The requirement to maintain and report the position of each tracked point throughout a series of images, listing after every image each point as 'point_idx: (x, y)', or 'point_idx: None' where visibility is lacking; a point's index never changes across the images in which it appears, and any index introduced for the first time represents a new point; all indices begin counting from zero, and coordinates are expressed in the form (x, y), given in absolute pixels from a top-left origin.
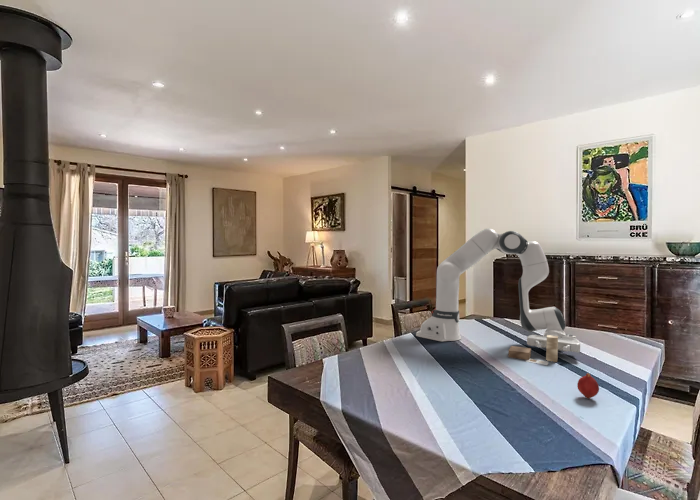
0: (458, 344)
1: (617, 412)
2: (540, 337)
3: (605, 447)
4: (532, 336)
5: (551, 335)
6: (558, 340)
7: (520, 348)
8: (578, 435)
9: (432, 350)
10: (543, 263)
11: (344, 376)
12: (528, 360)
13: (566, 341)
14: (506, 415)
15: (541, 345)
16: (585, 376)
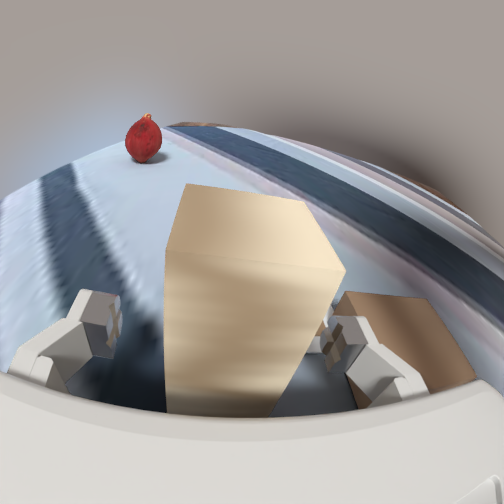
0: None
1: (114, 150)
2: (449, 483)
3: (161, 130)
4: (501, 442)
5: (282, 261)
6: (147, 488)
7: (425, 353)
8: (180, 134)
9: (501, 282)
10: None
11: (419, 190)
12: (326, 317)
13: (13, 455)
14: (250, 145)
15: (335, 360)
16: (151, 120)
